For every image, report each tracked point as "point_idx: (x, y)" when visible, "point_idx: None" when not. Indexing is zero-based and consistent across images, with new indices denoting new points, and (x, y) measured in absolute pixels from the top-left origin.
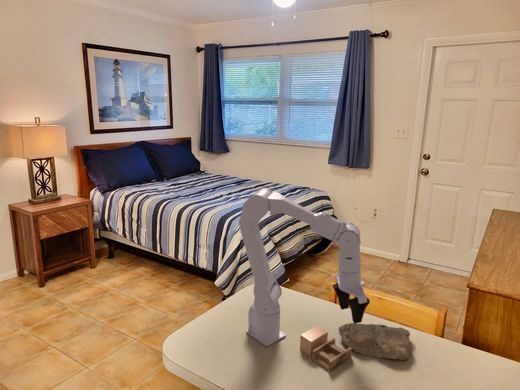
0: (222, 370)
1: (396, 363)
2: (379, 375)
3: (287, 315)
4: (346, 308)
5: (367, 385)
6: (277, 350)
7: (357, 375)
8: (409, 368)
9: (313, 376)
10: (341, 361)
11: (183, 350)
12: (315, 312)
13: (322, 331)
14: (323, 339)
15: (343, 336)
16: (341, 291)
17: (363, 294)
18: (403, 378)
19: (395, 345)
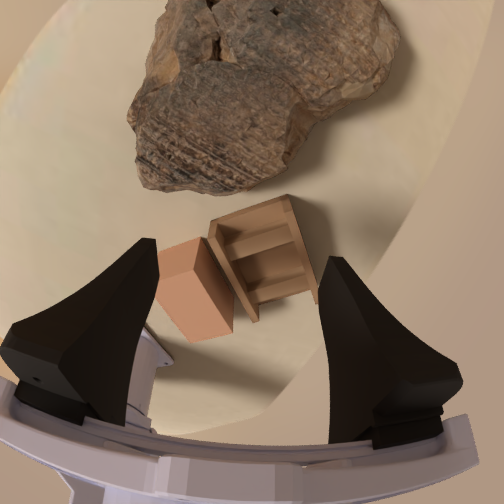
0: (226, 412)
1: None
2: (396, 163)
3: (42, 276)
4: (155, 250)
5: (404, 220)
6: (191, 348)
7: (365, 223)
8: (411, 52)
9: (310, 318)
10: (304, 244)
11: (166, 427)
12: (22, 193)
13: (185, 284)
14: (206, 274)
15: (199, 190)
16: (117, 383)
17: (442, 469)
18: (434, 108)
19: (372, 47)
